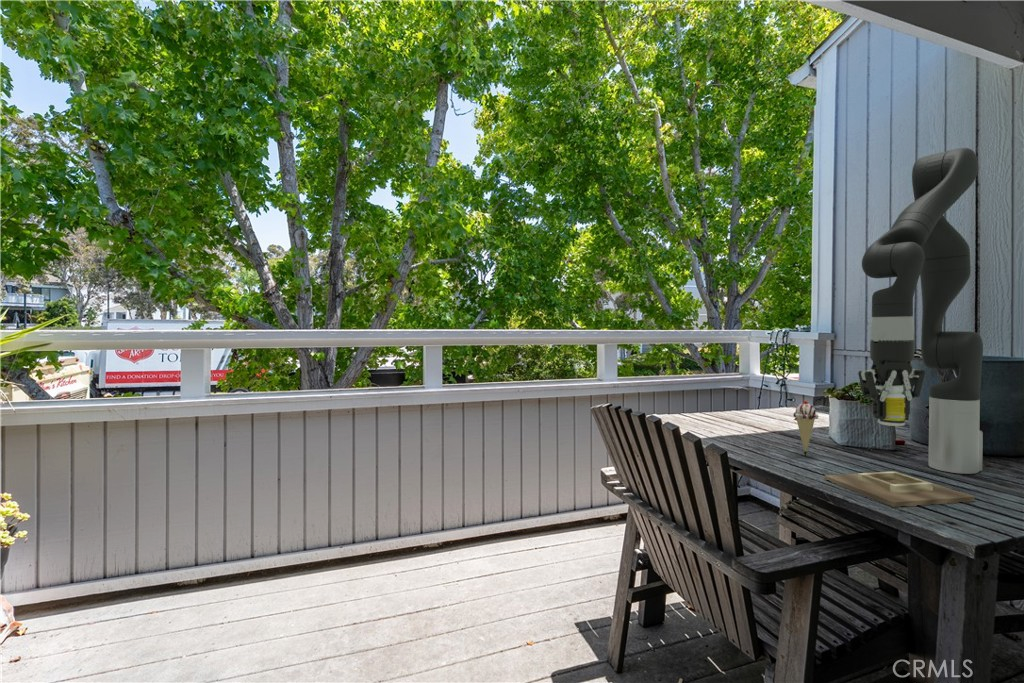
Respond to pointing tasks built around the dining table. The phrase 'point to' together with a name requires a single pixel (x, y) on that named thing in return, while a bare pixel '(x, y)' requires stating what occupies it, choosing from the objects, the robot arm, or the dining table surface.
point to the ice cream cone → (805, 422)
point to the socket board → (898, 489)
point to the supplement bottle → (894, 407)
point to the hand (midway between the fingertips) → (891, 417)
